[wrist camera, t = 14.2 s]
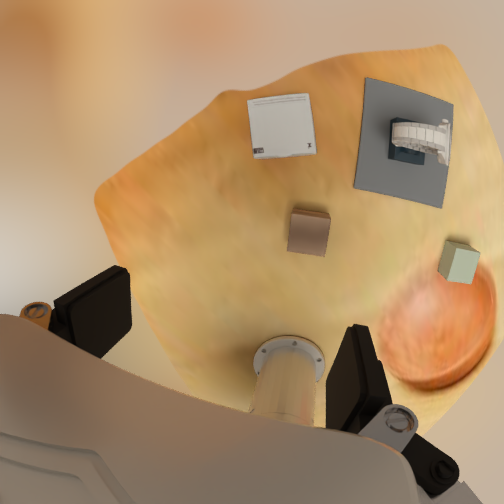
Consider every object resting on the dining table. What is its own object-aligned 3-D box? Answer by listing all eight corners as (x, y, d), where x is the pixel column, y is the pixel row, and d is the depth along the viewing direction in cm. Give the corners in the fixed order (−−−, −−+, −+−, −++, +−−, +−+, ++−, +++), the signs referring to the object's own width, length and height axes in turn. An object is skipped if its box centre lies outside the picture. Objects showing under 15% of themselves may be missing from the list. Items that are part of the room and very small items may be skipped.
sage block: (460, 274, 36) (471, 284, 32) (437, 270, 37) (447, 280, 33) (468, 245, 34) (480, 253, 31) (445, 240, 35) (456, 247, 32)
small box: (310, 100, 34) (310, 92, 29) (316, 155, 36) (318, 154, 31) (253, 106, 35) (245, 99, 30) (259, 160, 38) (252, 160, 33)
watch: (427, 167, 32) (465, 172, 22) (375, 156, 33) (401, 155, 23) (430, 129, 30) (468, 121, 20) (378, 117, 32) (403, 101, 21)
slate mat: (439, 207, 34) (441, 208, 33) (353, 187, 36) (354, 188, 35) (451, 105, 29) (453, 104, 28) (365, 78, 31) (366, 77, 30)
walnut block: (323, 247, 40) (324, 256, 36) (289, 242, 40) (286, 251, 37) (328, 213, 38) (330, 219, 34) (293, 208, 39) (291, 213, 35)
